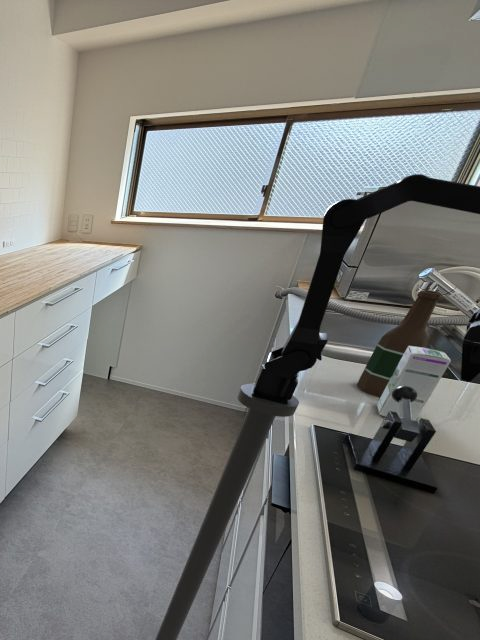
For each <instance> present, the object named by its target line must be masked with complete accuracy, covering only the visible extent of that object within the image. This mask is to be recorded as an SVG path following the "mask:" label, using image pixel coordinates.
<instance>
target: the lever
mask: <svg viewBox="0 0 480 640" xmlns="http://www.w3.org/2000/svg"><path fill="white" fill-rule="evenodd" d="M392 398H393V399H394V400H395V401H396V402H398V403H399V410H400V420H401V421H402V425H401V426H400V428H399V430H398V431H397V433H396V435H395V436H394V438H393V439H398V440H402V441H405V442H406V441H409V442H412V441H413V440H414V439H415V438H416V436H417V435H418V434H419V433H420V432H419V420H416V421H414V420H411V406H410V403H411V402H413V401H415V400H416V398H417V392H416V390H415V389H413V388H411V387H409V386H400V387H397V388H395V389H394V390H393V391H392Z"/></svg>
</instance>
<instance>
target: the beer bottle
mask: <svg viewBox="0 0 480 640" xmlns="http://www.w3.org/2000/svg"><path fill="white" fill-rule="evenodd" d="M416 296H417V297H416V299H415V300H414V302H413V304H412V305H411V307H410V308H409V310H408V312H407V313H406V315H405V316H404V317H403V319H402V321H400V323H399V324H398V325H397V326H395V327H393V328H391V329H390V330H388V331H387V332H386V333H385V334H384V335H382V336H381V338H380V340H379V341H378V343H377V344H376V346H375V348H374V350H373V352H372V354H371V356H370V357H369V360H367V361H368V362H367V364H366V365H365V367H364V369H363V371H362V373H361V374H360V377H359V378H358V381H357V382H356V383H357V384H356V386H357V387H358V388H359V389H361V391H363V392H365V393H368V394H371V395H374V396H376V397H379V398H380V397H381V395H382V393H383V391H384V390H385V388H386V386H387V384H388V382H389V380H390V379H391V377H392V375H393V373H394V371H395V369H396V367H397V366H398V364H399V362H400V360H401V358H402V356H403V355H404V353H405V351H406V349H407V347H408V346H414V347H422V348H428V341H429V338H428V334H427V331H426V329H427V326H428V322H429V321H430V319H431V316H432V314H433V312H434V311H435V308H436V306H437V304H438V301H439V300H441V299H442V298H443V293H441V292H439V291H435V290H427V289H425V290H420V291H419V292H418V293H417V294H416Z"/></svg>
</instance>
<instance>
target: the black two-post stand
mask: <svg viewBox="0 0 480 640" xmlns="http://www.w3.org/2000/svg"><path fill="white" fill-rule="evenodd" d="M418 422H419V432H420V433H419V434H418V435H417V436H416V438H415V439H414V440H413V441H412V442H409V441H405V442H404V444H403V446H400V445H399V446H398V445H395V444H391V443H392V441H393V439H395V438H394V436H395V435H396V433H397V431H398V430H399V428H400V426H401V425H402V421H401V420H400V418H399V416H398V414H397V412H393V411H389V412H388V414H387V416H386V417H385V416H384V419H383V420H382V421H381V423H380V426H379V428H378V429H377V431H376V432H375V434H374V436H373V438H369V437H365V436H361V435H357V434H354V433H351V432H347V434H346V435H345V437H344V438H345V442H346V446H347V449H348V453H349V457H350V461H351V464H352V467H353V470H354V471H358V472H361V473H364V474H368V475H371V476H374V477H378V478H381V479H384V480H388V481H392V482H395V483H398V484H402V485H403V486H404V485H405V486H408V487H411V488H415V489H418V490H420V491H421V490H422V491H424V492H428V493H431V494H435V493H436V492H437V491H438V489H439V486H438V485H437V483H436V481H435V479H434V477H433V476H432V473H431V472H430V470H429V467H428V466H427V464H426V462H425V460H424V458H423V457H422V453H424V450H426V447H428V445H429V443H430V442H431V440H432V438H433V437H434V436H435V434H436V433H437V431H436V429H435V427H434V425H433V424H432V423H431V421H430V420H429V419H426V418H421V417H420V418H419V420H418Z"/></svg>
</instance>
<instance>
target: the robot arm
mask: <svg viewBox="0 0 480 640" xmlns="http://www.w3.org/2000/svg"><path fill="white" fill-rule="evenodd" d="M409 202H415V203H419V204H425V205H429V206H435V207H440V208H444V209H450V210H455V211H460V212H466V213H470V214H475V215H480V185H474V184H469V183H462V182H458V181H450V180H447V179H439V178H435V177H434V178H433V177H430V176H427V175H425V174H421V173H415V174H411V175H407V176H404V177H402V178H400V179H399V180H398V181H396V182H394V183H391V184H389V185H386V186H385V187H382V188H380V189H377V190H375V191H372V192H370V193H368V194H365V195H364V196H361V197H359V198H356V199H355V198H344V199H341V200H337V201H335V202H334V203H333V204H331V205H330V206H329V207H328V208H327V209H326V211H325V213H324V215H323V220H322V229H321V239H320V248H319V250H320V251H319V255H318V258H317V260H316V263H315V267H314V270H313V274H312V277H311V280H310V282H309V286H308V290H307V292H306V296H305V298H304V302H303V306H302V309H301V312H300V315H299V318H298V321H297V322H296V324H295V326H294V327H293V329H292V331H291V332H290V334H289V336H288V338H287V339H286V341H285V344H284V345H283V346H282V347H279V348H277V349H274V350H271V351H269V352H268V355H267V357H266V360H265V363H262V365H261V367H260V369H259V373H258V374H257V378H256V380H255V382H254V383H252V384H253V388H252V396H254V397H258V398H262V399H266V400H270V401H274V402H278V403H282V404H287V403H288V400H290V399H291V398H292V396H294V395H295V394H294V393H295V391H296V390H297V387H298V385H299V380H298V377H299V373H300V372H303V371H307V370H309V369H311V368H313V367H314V366H315V364H316V363H317V360H318V361H322V360H323V359H322V357H323V351H324V348H325V347H326V345H327V344H328V341H329V339H328V338H329V337H328V336H329V334H328V332H321V326H322V322H323V320H324V317H325V314H326V311H327V308H328V305H329V303H330V300H331V297H332V293H333V290H334V287H335V285H336V282H337V279H338V276H339V273H340V269H341V266H342V264H343V261H344V258H345V255H346V254H347V252H348V250H349V248H350V247H351V246H352V243H353V242H354V240H355V239H356V237H357V235H358V233H359V232H360V230H361V228H362V226H363V225H364V223H365V221H366V220H368V219H371V218H373V217H375V216H377V215H381V214H382V213H385V212H388V211H390V210H391V209H393V208H396V207H398V206H401V205H403V204H405V203H409ZM467 321H468V322H467V325H466V328H465V329H466V330H465V333H464V335H463V338H462V341H461V365H460V367H461V368H460V380H461V381H464V382H468V383H470V382H472V381H473V380H474V379H475V378H476V377H477V376H478V375H480V308H477V309H475V310H474V311H473V313H472V314H471V316H470V318H469V319H468V320H467Z"/></svg>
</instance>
